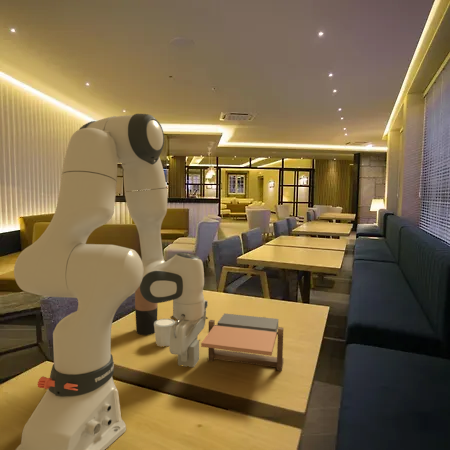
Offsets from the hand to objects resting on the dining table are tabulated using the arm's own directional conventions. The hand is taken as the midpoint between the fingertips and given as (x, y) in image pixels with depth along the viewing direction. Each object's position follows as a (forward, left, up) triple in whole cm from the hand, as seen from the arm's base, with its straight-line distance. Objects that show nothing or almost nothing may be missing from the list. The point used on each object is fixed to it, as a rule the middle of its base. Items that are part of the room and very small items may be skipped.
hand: (188, 355), depth 102 cm
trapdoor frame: (+5, -16, -2) cm, 17 cm away
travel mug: (+17, +22, -2) cm, 28 cm away
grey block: (0, 0, -2) cm, 2 cm away
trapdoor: (+1, -16, +7) cm, 17 cm away
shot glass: (+10, +12, -2) cm, 16 cm away
